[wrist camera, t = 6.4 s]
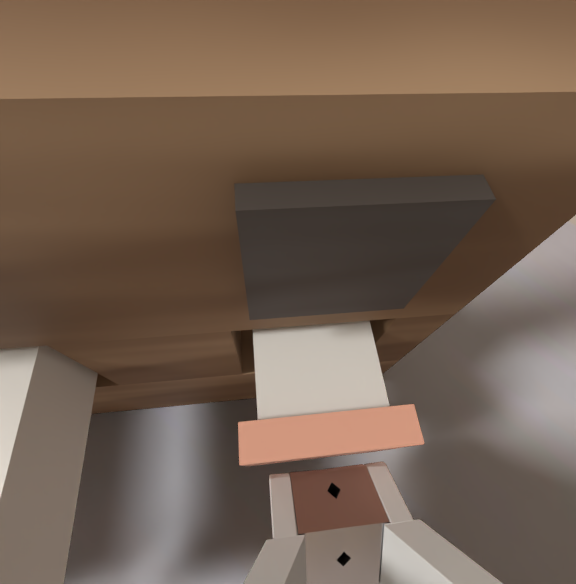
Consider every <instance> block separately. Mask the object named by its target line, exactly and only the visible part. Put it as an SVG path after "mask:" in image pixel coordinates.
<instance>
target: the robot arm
mask: <svg viewBox="0 0 576 584" xmlns="http://www.w3.org/2000/svg"><path fill="white" fill-rule="evenodd" d="M269 486H270V502H271V518H272V534H273V539H268V540H266V541H265V543H264V545H263V547H262V549H261V551H260V553H259V555H258V557H257V559H256V560H255V562H254V564H253V566H252V568H251V570H250V572H249V574H248V576H247V577H246V579H245V581H244V583H243V584H503V583H502V582H500V581H499V580H498V579H496V578H495V577H494V576H493V575H491V574H490V573H489V572H487V571H486V570H485V569H484V568H482V567H481V566H480V565H478V564H477V563H476V562H474V561H473V560H472V559H471V558H469V557H468V556H467V555H465V554H464V553H463V552H462V551H460V550H459V549H458V548H456V547H455V546H454V545H452V544H451V543H450V542H449V541H447V540H446V539H445V538H443V537H442V536H441V535H440V534H438V533H437V532H436V531H434V530H433V529H432V528H430V527H429V526H428V525H427V524H425V523H424V522H423V521H421V520H420V519H418V520H414V519H413V517H412V515H411V513H410V511H409V509H408V507H407V505H406V503H405V501H404V499H403V497H402V495H401V493H400V491H399V489H398V487H397V485H396V483H395V481H394V479H393V477H392V475H391V473H390V471H389V469H388V467H387V465H386V464H385V463H384V462H376V463H368V464H364V465H363V464H360V465H352V466H344V467H336V468H328V469H323V470H312V471H300V472H289V473H282V474H271V475H269Z"/></svg>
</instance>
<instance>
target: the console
mask: <svg viewBox="0 0 576 584" xmlns="http://www.w3.org/2000/svg"><path fill="white" fill-rule="evenodd" d="M575 215H576V0H0V349H8V348H21V347H34V346H49V347H51V348H52V349H54V350H56V351H58V352H60V353H62V354H63V355H65V356H67V357H69V358H71V359H72V360H74V361H76V362H78V363H80V364H82V365H83V366H85V367H87V368H89V369H91V370H92V371H94V372H96V373H98V375H97V382H96V388H95V394H94V400H93V406H92V413H91V414H96V413H107V412H117V411H127V410H138V409H148V408H158V407H169V406H179V405H189V404H200V403H210V402H220V401H231V400H241V399H251V398H256V381H255V363H254V346H253V329H266V328H279V327H292V326H305V325H318V324H331V323H344V322H357V321H370V324H371V329H372V333H373V337H374V341H375V346H376V350H377V354H378V358H379V363H380V367H381V371H382V374H383V373H384V372H386V371H387V370H388V369H389V368H390V367H392V366H393V365H394V364H395V363H396V362H398V361H399V360H400V359H401V358H402V357H404V356H405V355H406V354H407V353H409V352H410V351H411V350H412V349H413V348H415V347H416V346H417V345H418V344H419V343H421V342H422V341H423V340H424V339H426V338H427V337H428V336H429V335H430V334H432V333H433V332H434V331H435V330H436V329H438V328H439V327H440V326H441V325H443V324H444V323H445V322H446V321H447V320H449V319H450V318H451V317H452V316H453V315H455V314H456V313H457V312H458V311H459V310H461V309H462V308H463V307H464V306H466V305H467V304H468V303H469V302H470V301H472V300H473V299H474V298H475V297H476V296H478V295H479V294H480V293H481V292H483V291H484V290H485V289H486V288H487V287H489V286H490V285H491V284H492V283H493V282H495V281H496V280H497V279H498V278H500V277H501V276H502V275H503V274H504V273H506V272H507V271H508V270H509V269H510V268H512V267H513V266H514V265H515V264H516V263H518V262H519V261H520V260H521V259H523V258H524V257H525V256H526V255H527V254H529V253H530V252H531V251H532V250H533V249H535V248H536V247H537V246H538V245H540V244H541V243H542V242H543V241H544V240H546V239H547V238H548V237H549V236H550V235H552V234H553V233H554V232H555V231H556V230H558V229H559V228H560V227H561V226H563V225H564V224H565V223H566V222H567V221H569V220H570V219H571V218H572V217H573V216H575Z"/></svg>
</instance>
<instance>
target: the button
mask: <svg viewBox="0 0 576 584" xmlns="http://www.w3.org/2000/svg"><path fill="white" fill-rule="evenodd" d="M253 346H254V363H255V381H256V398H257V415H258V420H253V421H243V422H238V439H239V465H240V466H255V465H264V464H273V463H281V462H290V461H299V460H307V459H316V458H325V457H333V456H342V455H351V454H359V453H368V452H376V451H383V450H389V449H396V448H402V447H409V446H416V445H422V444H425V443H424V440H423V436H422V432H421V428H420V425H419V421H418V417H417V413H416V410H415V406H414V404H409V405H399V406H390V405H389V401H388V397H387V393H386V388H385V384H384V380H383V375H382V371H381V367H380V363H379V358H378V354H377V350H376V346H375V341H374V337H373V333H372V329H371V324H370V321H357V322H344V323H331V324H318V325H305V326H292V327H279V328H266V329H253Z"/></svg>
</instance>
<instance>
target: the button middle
mask: <svg viewBox="0 0 576 584" xmlns="http://www.w3.org/2000/svg"><path fill="white" fill-rule="evenodd" d="M97 375H98V373H96V372H94V371H92V370H91V369H89V368H87V367H85V366H83V365H82V364H80V363H78V362H76V361H74V360H72V359H71V358H69V357H67V356H65V355H63V354H62V353H60V352H58V351H56V350H54V349H52V348H51V347H49V346H34V347H21V348H8V349H0V584H64V579H65V573H66V567H67V561H68V554H69V548H70V542H71V536H72V530H73V524H74V517H75V511H76V505H77V499H78V493H79V487H80V480H81V474H82V468H83V462H84V456H85V450H86V443H87V437H88V431H89V425H90V419H91V413H92V406H93V400H94V394H95V388H96V382H97Z"/></svg>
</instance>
